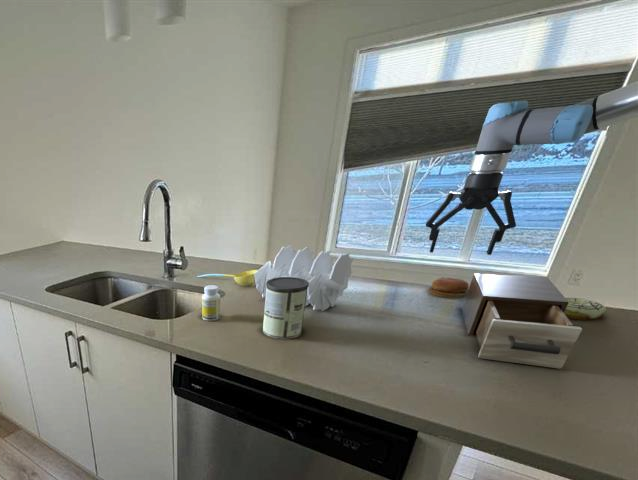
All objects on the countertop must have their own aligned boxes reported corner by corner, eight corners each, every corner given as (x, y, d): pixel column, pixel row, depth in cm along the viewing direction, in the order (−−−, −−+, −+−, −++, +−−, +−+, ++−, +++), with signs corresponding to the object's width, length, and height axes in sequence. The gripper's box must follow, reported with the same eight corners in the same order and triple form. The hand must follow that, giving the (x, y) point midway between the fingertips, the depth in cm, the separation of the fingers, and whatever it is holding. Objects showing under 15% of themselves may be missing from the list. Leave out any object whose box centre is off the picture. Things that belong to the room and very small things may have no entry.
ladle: (251, 288, 143) (249, 272, 141) (194, 292, 163) (191, 278, 160) (264, 281, 147) (262, 265, 145) (207, 285, 167) (204, 272, 165)
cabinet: (547, 346, 92) (569, 302, 87) (467, 337, 99) (483, 295, 94) (529, 316, 106) (547, 277, 101) (460, 310, 113) (474, 273, 108)
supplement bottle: (211, 313, 127) (211, 283, 122) (223, 318, 123) (224, 287, 118) (198, 318, 125) (198, 287, 120) (210, 322, 121) (210, 291, 116)
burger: (445, 301, 120) (450, 285, 118) (420, 292, 128) (424, 277, 126) (474, 296, 121) (480, 281, 119) (448, 288, 129) (453, 274, 127)
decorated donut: (603, 325, 99) (611, 311, 97) (543, 318, 105) (549, 304, 103) (598, 312, 105) (605, 298, 103) (542, 305, 111) (548, 292, 110)
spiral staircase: (273, 305, 140) (345, 318, 122) (245, 295, 129) (319, 308, 110) (290, 252, 136) (366, 257, 118) (262, 237, 125) (342, 241, 107)
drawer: (568, 381, 78) (591, 339, 74) (481, 368, 85) (497, 330, 80) (541, 334, 95) (557, 299, 91) (469, 327, 102) (482, 293, 97)
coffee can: (271, 323, 117) (276, 275, 110) (307, 330, 111) (315, 279, 103) (255, 335, 110) (259, 285, 103) (292, 343, 104) (299, 290, 97)
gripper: (430, 175, 111) (408, 253, 122) (552, 170, 99) (517, 257, 110) (429, 172, 116) (409, 247, 127) (545, 168, 104) (512, 251, 115)
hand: (459, 252), depth 118 cm, fingers open, 13 cm apart
